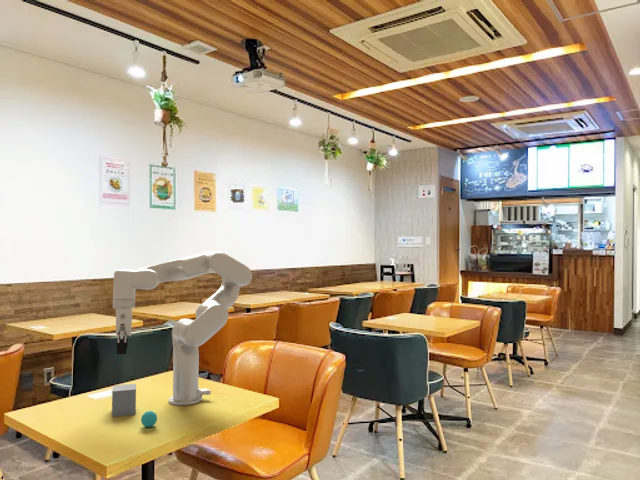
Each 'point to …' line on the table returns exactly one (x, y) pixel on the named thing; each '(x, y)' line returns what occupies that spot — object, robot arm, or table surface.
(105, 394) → the table surface
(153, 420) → the ball
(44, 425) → the table surface
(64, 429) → the table surface
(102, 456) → the table surface
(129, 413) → the grey tapered block
